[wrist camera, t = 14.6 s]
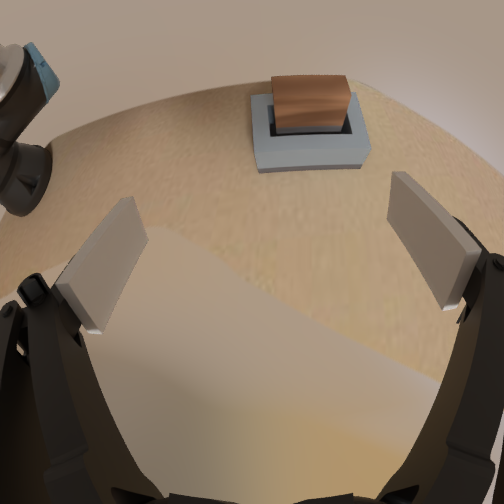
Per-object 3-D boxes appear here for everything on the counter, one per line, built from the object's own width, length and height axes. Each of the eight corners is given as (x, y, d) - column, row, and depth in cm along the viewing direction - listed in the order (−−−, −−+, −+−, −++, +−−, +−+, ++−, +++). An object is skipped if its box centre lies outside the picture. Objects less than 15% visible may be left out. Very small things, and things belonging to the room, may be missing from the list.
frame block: (359, 168, 35) (371, 148, 29) (258, 173, 37) (254, 152, 31) (348, 116, 37) (355, 92, 31) (255, 119, 38) (250, 95, 32)
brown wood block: (336, 145, 35) (351, 95, 24) (277, 147, 35) (273, 96, 25) (332, 127, 35) (345, 75, 24) (275, 129, 36) (271, 76, 25)
